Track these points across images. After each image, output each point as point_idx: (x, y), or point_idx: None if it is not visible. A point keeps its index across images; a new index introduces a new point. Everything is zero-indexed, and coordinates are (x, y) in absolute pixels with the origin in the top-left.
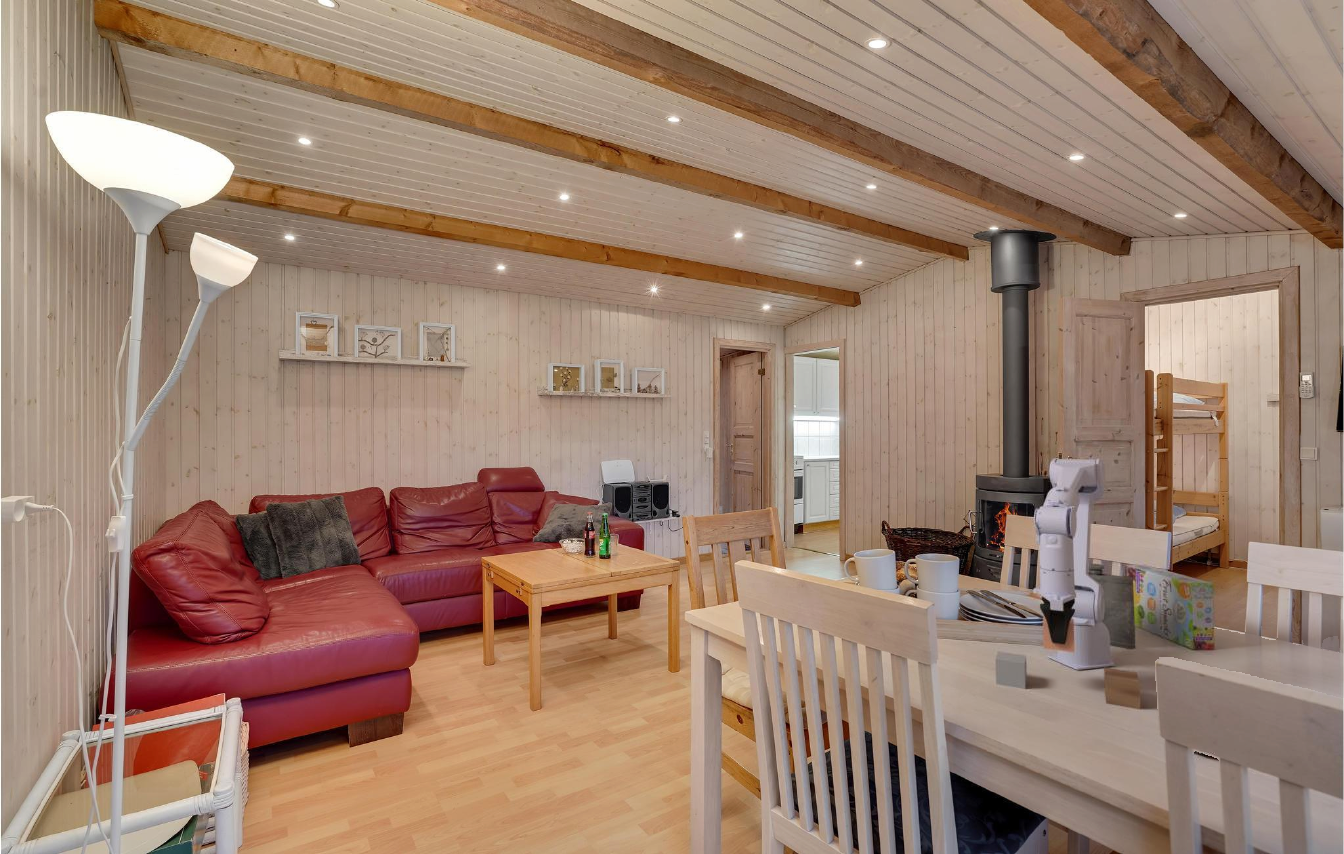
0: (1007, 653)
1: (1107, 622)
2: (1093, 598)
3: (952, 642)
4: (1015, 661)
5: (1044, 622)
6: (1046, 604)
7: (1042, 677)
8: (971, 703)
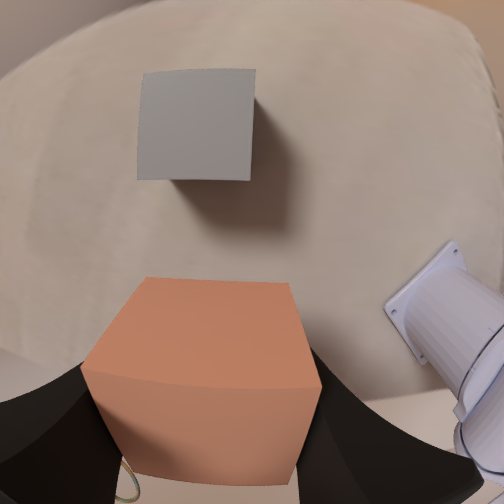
0: (244, 105)
1: None
2: (491, 469)
3: (456, 25)
4: (144, 145)
5: (86, 374)
6: (17, 502)
7: (296, 220)
8: (33, 87)
